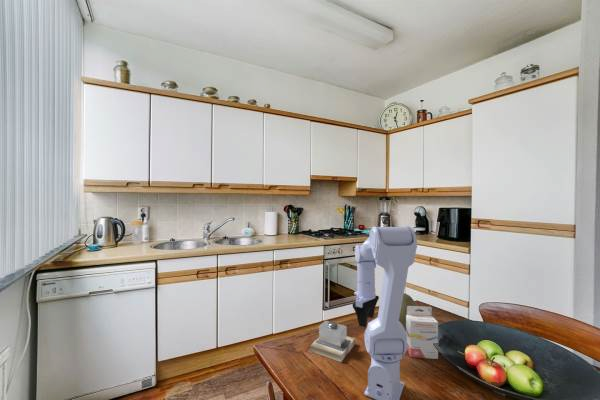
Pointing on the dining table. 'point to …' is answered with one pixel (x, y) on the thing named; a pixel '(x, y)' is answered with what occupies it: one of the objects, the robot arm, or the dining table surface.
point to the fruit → (405, 309)
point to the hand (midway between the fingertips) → (366, 321)
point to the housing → (333, 333)
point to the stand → (332, 349)
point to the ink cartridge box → (421, 332)
